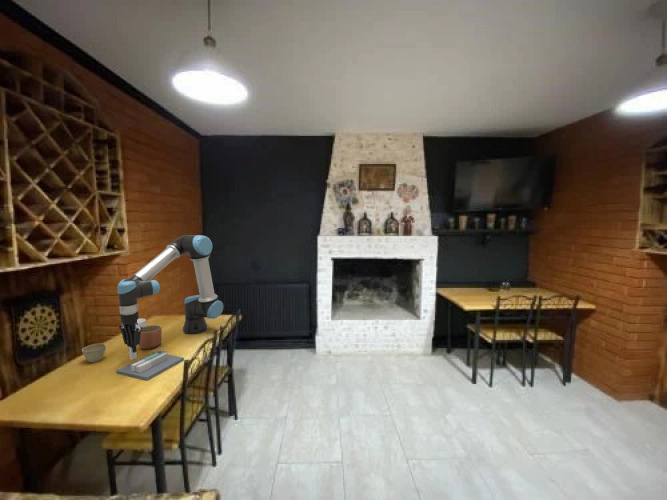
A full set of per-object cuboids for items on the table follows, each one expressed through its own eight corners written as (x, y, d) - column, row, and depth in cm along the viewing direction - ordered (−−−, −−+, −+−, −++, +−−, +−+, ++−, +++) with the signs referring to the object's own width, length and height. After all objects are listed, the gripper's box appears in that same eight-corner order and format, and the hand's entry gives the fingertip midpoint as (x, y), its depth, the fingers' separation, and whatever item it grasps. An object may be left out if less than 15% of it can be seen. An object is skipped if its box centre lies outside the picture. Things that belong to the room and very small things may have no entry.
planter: (140, 353, 176) (139, 334, 175) (136, 346, 185) (134, 328, 184) (164, 347, 184) (163, 328, 183) (159, 340, 194) (158, 323, 192)
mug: (138, 344, 188) (137, 324, 186) (124, 344, 188) (123, 324, 186) (150, 336, 199) (149, 318, 198) (136, 336, 199) (135, 318, 198)
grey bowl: (81, 360, 167) (80, 347, 166) (104, 354, 174) (103, 342, 174) (85, 366, 160) (84, 353, 159) (108, 360, 168) (107, 347, 167)
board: (157, 353, 176) (157, 344, 175) (186, 359, 169) (185, 349, 168) (116, 373, 154) (115, 362, 153) (147, 380, 147) (146, 369, 146)
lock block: (160, 351, 174) (160, 346, 174) (165, 352, 173) (165, 347, 173) (151, 356, 168) (150, 351, 168) (156, 357, 167) (155, 352, 167)
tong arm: (159, 357, 168) (159, 351, 167) (163, 357, 167) (162, 352, 167) (131, 370, 153) (130, 364, 153) (134, 371, 152) (134, 365, 152)
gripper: (112, 313, 155) (116, 359, 158) (131, 316, 151) (136, 363, 154) (126, 309, 162) (130, 353, 165) (145, 311, 158) (149, 356, 161)
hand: (133, 358), depth 159 cm, fingers closed
